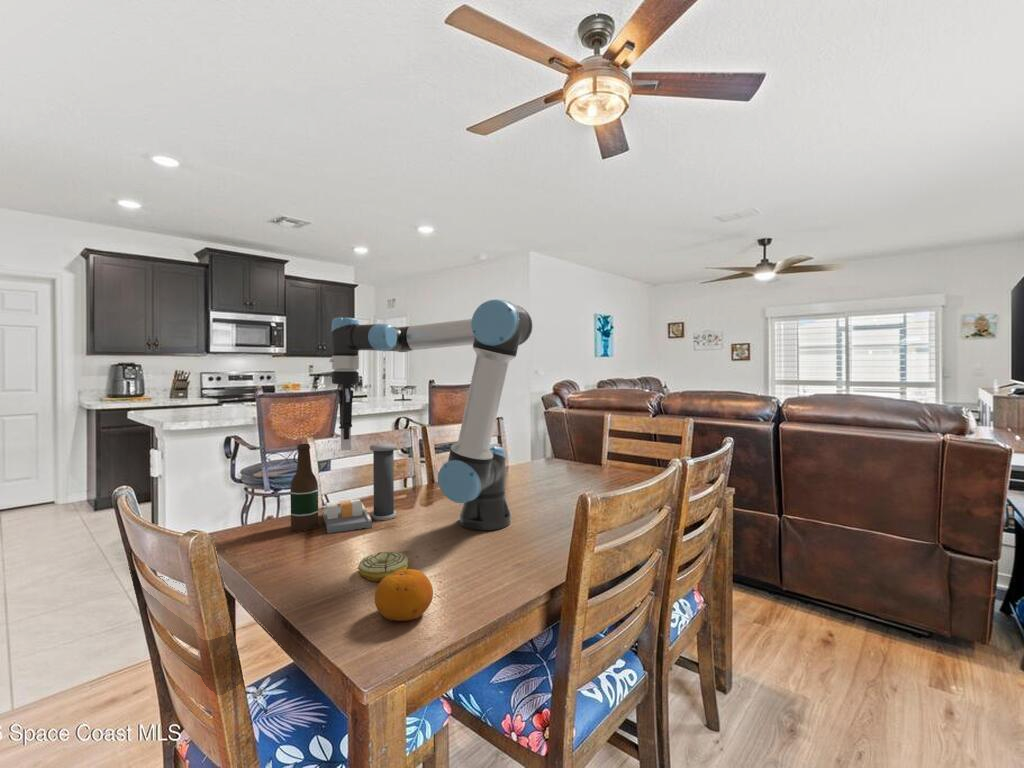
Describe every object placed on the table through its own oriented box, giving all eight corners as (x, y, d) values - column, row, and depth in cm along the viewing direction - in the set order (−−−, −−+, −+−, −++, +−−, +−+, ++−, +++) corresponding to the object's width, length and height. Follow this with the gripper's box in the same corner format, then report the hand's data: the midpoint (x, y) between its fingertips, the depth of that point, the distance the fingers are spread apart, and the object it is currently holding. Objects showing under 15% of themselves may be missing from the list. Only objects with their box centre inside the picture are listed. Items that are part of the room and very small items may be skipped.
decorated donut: (380, 561, 116) (380, 545, 116) (417, 569, 111) (417, 553, 111) (348, 578, 106) (348, 561, 106) (387, 588, 102) (387, 570, 102)
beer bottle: (285, 527, 138) (284, 444, 137) (311, 521, 144) (311, 441, 143) (296, 534, 133) (295, 447, 132) (324, 527, 139) (323, 444, 138)
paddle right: (362, 515, 144) (362, 503, 144) (352, 516, 143) (352, 504, 142) (359, 510, 148) (359, 499, 148) (350, 511, 147) (350, 500, 147)
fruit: (393, 597, 97) (393, 558, 97) (441, 605, 94) (441, 565, 94) (363, 624, 87) (362, 580, 87) (415, 634, 84) (415, 589, 84)
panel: (371, 527, 139) (371, 518, 139) (327, 533, 134) (327, 524, 133) (362, 510, 155) (362, 502, 155) (322, 515, 150) (322, 506, 150)
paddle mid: (352, 516, 143) (352, 504, 142) (342, 517, 141) (342, 505, 141) (350, 511, 147) (350, 500, 147) (340, 512, 146) (340, 501, 146)
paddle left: (337, 518, 141) (337, 506, 141) (327, 519, 140) (327, 507, 140) (336, 513, 145) (336, 501, 145) (326, 514, 144) (326, 502, 144)
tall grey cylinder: (399, 518, 147) (399, 446, 146) (372, 522, 144) (372, 448, 143) (394, 511, 154) (393, 442, 153) (368, 514, 151) (368, 444, 150)
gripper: (329, 370, 147) (330, 447, 148) (333, 370, 135) (334, 454, 136) (355, 370, 150) (356, 445, 151) (361, 370, 138) (362, 452, 139)
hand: (345, 449), depth 143 cm, fingers closed
